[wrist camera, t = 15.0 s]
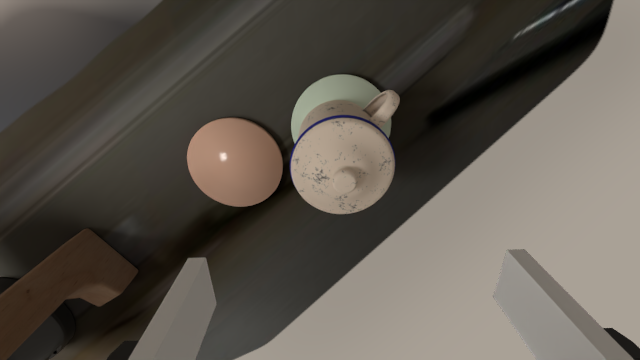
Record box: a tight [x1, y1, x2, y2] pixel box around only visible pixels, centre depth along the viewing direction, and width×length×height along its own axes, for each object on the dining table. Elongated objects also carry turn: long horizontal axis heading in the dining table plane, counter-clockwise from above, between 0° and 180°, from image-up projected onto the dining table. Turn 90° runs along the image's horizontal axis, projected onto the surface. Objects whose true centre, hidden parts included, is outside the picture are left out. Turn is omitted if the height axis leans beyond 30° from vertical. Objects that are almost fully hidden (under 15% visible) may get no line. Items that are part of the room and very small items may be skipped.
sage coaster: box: [291, 74, 391, 143], centre depth 33 cm, size 11×11×1 cm
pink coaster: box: [187, 117, 283, 207], centre depth 35 cm, size 11×11×1 cm
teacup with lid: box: [290, 90, 400, 214], centre depth 28 cm, size 12×9×12 cm
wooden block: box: [0, 228, 138, 360], centre depth 33 cm, size 9×4×18 cm, turn 34°
